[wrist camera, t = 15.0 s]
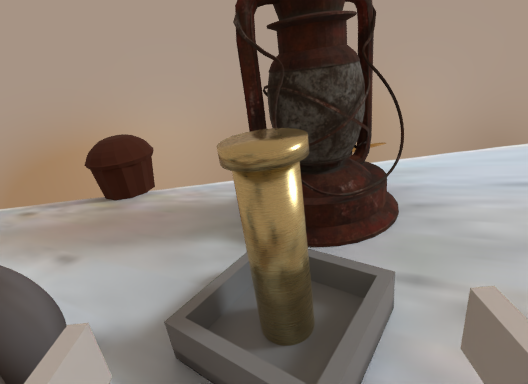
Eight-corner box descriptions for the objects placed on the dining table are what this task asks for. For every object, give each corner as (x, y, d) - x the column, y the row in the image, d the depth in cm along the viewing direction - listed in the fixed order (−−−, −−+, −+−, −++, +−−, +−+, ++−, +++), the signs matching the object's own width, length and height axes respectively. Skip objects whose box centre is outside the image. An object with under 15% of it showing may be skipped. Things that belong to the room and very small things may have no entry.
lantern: (300, 269, 31) (261, -133, 19) (231, 204, 47) (187, -36, 35) (434, 211, 38) (463, -110, 26) (334, 172, 54) (325, -38, 42)
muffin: (122, 207, 51) (102, 148, 48) (84, 199, 57) (63, 146, 53) (175, 180, 61) (162, 129, 57) (137, 176, 66) (123, 129, 62)
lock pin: (238, 334, 23) (197, 150, 18) (277, 290, 27) (253, 127, 21) (301, 366, 20) (274, 156, 15) (334, 311, 24) (323, 128, 18)
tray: (176, 358, 23) (164, 321, 22) (268, 267, 32) (264, 237, 30) (327, 459, 16) (323, 415, 15) (393, 308, 25) (395, 271, 24)
